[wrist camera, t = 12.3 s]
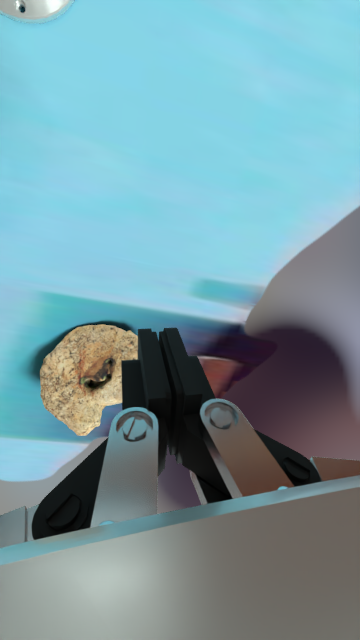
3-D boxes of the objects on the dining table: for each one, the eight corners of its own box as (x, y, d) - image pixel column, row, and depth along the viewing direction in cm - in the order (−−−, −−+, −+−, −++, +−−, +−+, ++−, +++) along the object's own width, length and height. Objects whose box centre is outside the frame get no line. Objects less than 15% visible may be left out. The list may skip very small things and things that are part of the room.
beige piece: (94, 300, 46) (89, 300, 39) (157, 347, 49) (163, 356, 42) (27, 381, 45) (9, 398, 37) (97, 424, 48) (93, 448, 41)
